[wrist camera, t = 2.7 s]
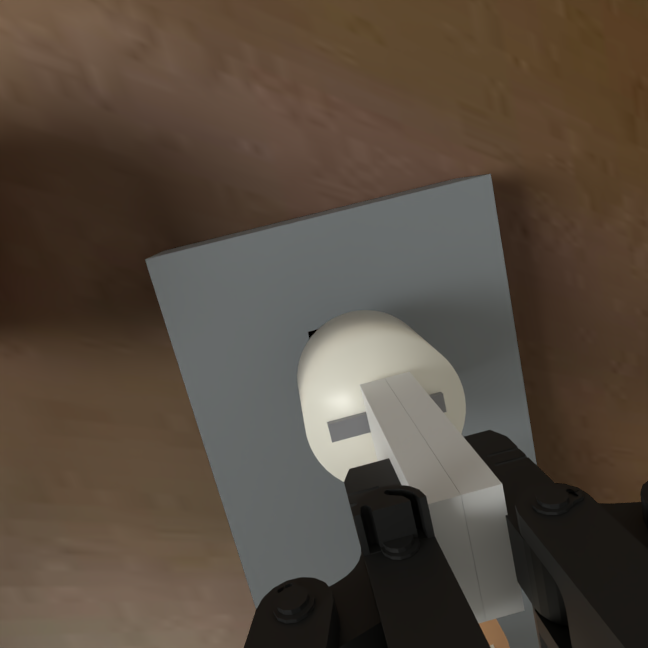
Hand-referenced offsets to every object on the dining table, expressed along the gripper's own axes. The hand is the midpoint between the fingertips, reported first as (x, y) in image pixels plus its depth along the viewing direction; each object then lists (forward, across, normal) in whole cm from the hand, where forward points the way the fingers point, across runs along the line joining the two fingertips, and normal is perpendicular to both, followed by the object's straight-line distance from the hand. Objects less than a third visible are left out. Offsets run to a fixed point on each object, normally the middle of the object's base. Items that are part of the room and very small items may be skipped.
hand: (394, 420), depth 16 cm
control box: (+11, 0, -8) cm, 13 cm away
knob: (+8, 0, 0) cm, 8 cm away
